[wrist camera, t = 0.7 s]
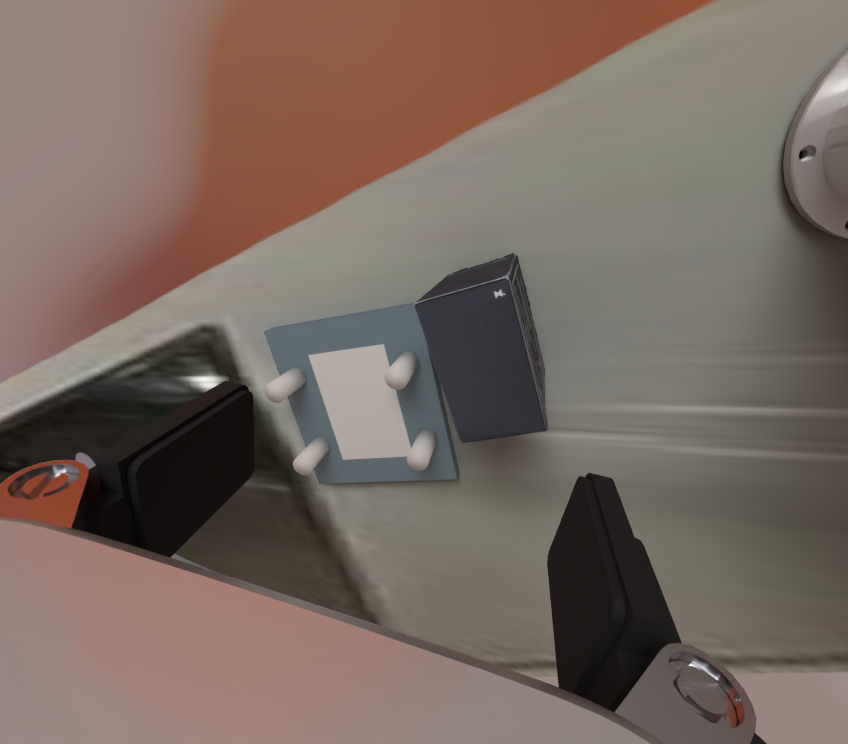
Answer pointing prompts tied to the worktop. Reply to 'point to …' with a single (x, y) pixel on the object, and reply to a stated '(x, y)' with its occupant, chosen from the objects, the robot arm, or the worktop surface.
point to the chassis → (364, 397)
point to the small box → (486, 350)
